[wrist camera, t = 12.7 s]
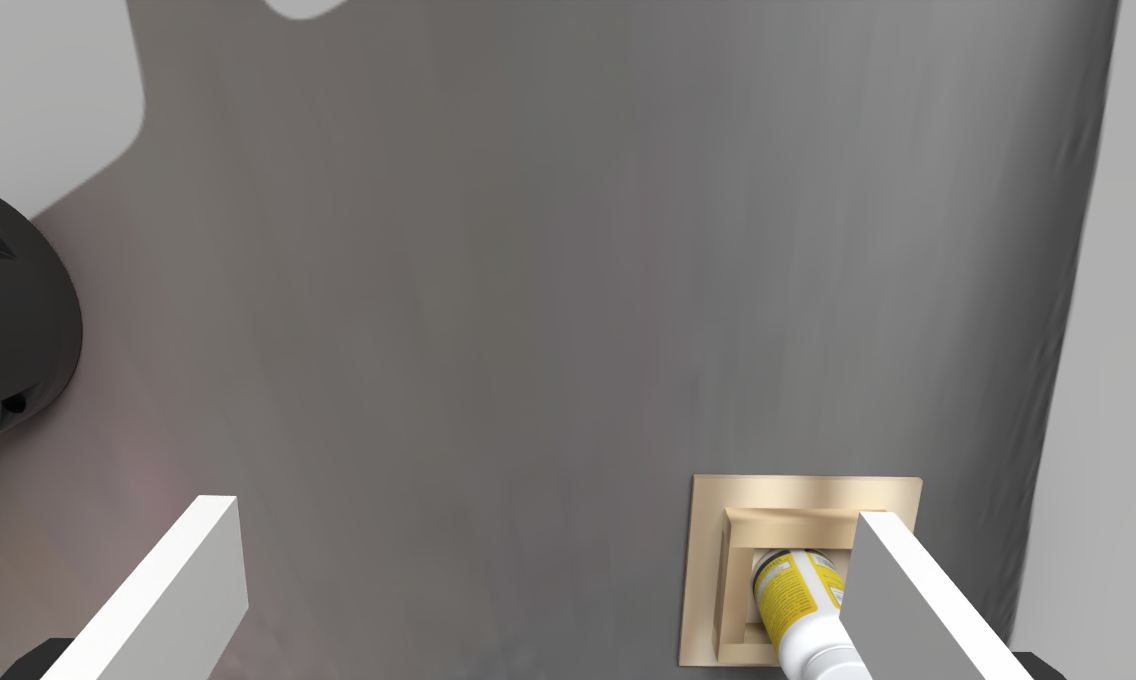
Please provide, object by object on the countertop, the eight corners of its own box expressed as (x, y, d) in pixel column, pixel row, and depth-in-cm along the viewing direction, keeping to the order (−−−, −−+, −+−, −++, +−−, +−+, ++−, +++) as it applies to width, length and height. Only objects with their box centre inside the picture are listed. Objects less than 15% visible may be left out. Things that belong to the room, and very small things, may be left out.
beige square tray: (678, 660, 50) (683, 688, 47) (693, 474, 46) (700, 495, 43) (884, 662, 50) (900, 690, 48) (919, 477, 46) (938, 498, 43)
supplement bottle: (747, 614, 48) (791, 737, 39) (751, 541, 46) (798, 652, 37) (830, 611, 48) (894, 734, 39) (837, 539, 46) (906, 649, 37)
